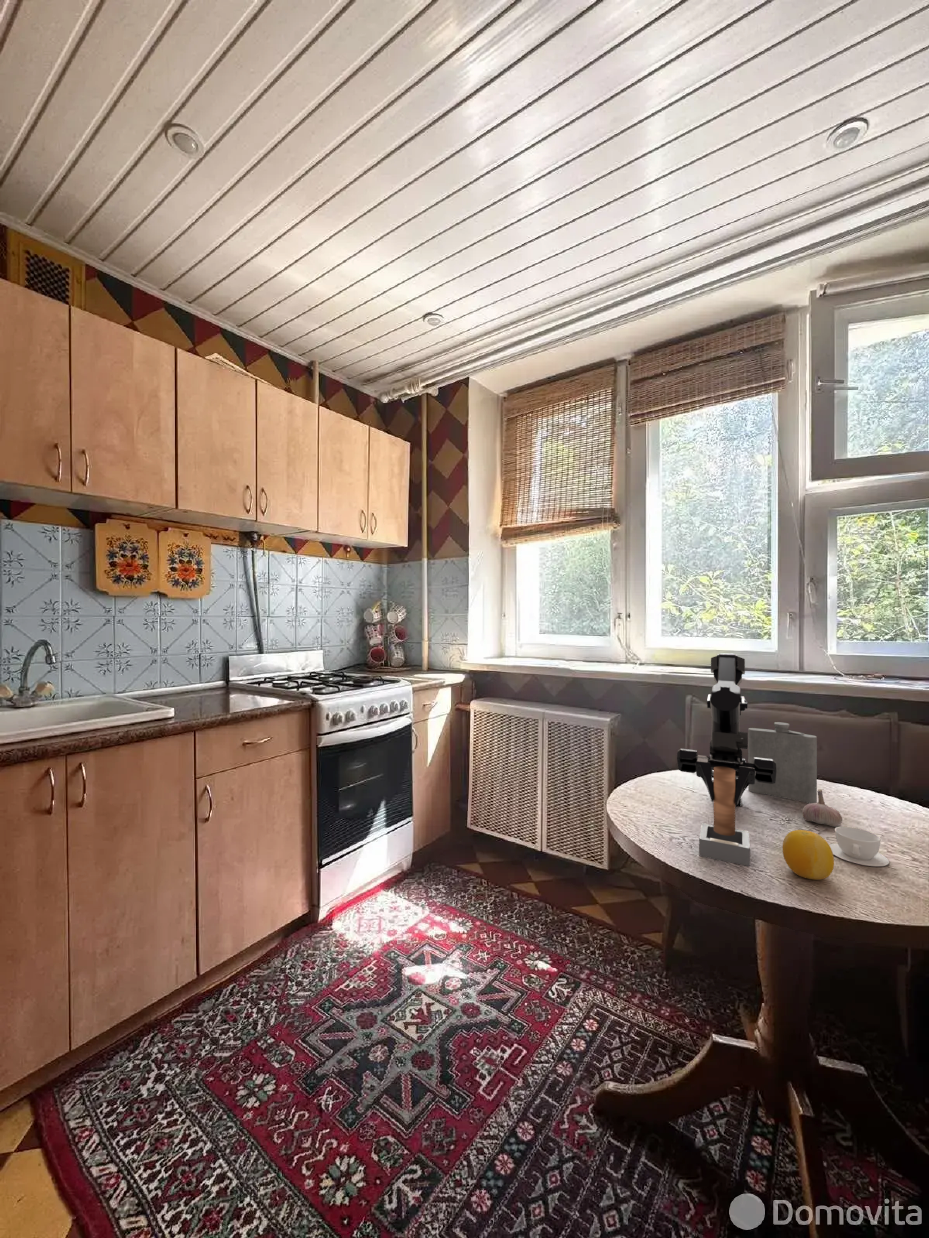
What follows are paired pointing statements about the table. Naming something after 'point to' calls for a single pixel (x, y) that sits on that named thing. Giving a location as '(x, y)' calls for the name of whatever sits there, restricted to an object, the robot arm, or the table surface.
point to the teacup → (858, 846)
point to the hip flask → (786, 762)
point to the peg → (724, 801)
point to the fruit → (808, 854)
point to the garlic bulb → (821, 812)
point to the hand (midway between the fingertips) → (724, 802)
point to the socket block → (724, 845)
